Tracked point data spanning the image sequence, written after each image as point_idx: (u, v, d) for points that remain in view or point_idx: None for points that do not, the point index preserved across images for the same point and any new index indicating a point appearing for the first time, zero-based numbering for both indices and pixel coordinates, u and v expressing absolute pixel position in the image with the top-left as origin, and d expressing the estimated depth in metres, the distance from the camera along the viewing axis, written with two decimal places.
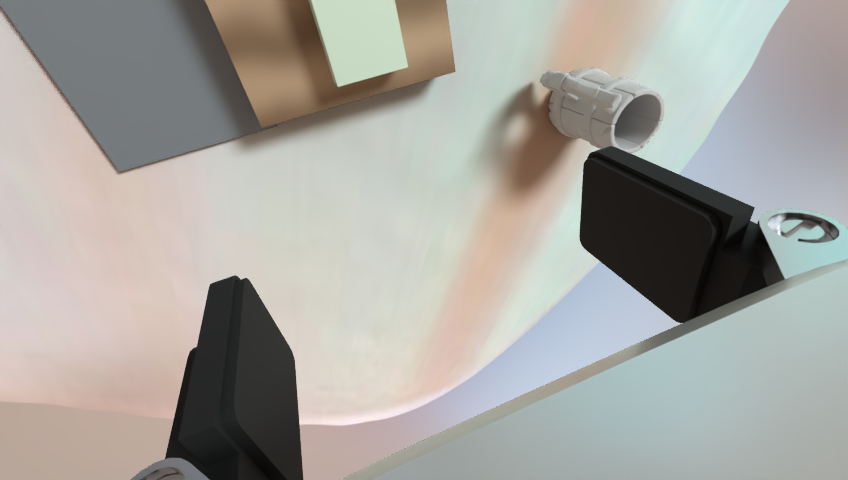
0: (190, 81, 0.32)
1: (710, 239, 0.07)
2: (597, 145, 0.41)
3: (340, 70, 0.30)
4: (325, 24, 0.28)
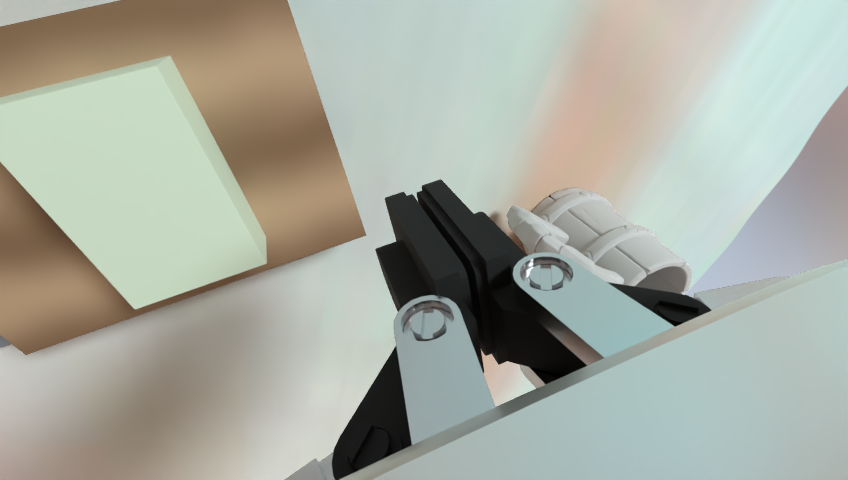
0: None
1: (476, 281, 0.08)
2: None
3: (132, 287, 0.17)
4: (78, 228, 0.15)
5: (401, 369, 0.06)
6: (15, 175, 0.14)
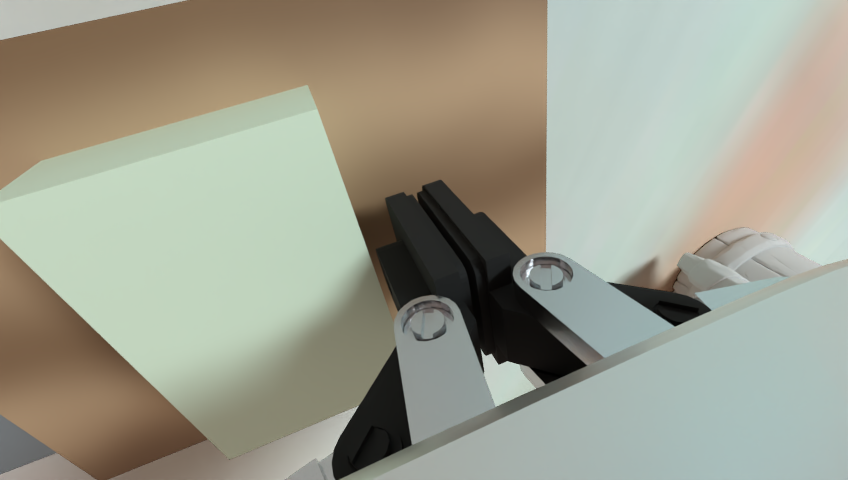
0: None
1: (476, 281, 0.08)
2: None
3: (230, 433, 0.11)
4: (161, 366, 0.09)
5: (401, 369, 0.06)
6: (68, 300, 0.08)
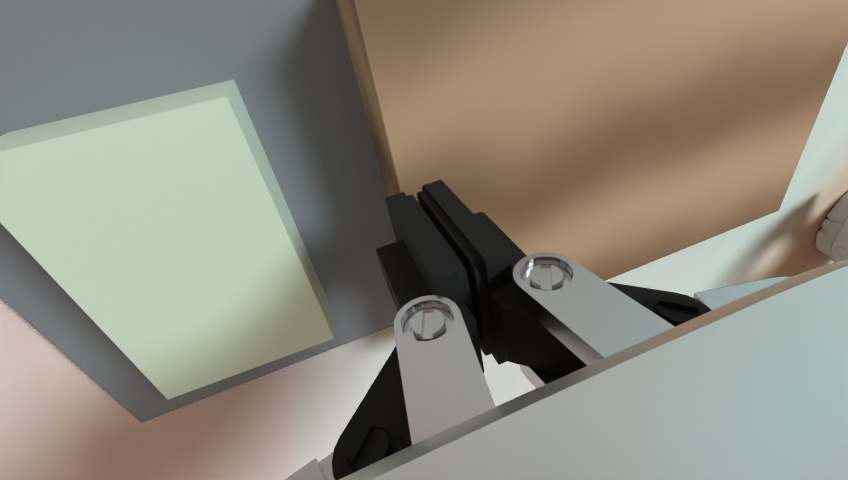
0: None
1: (476, 281, 0.08)
2: None
3: None
4: None
5: (401, 369, 0.06)
6: (260, 148, 0.13)
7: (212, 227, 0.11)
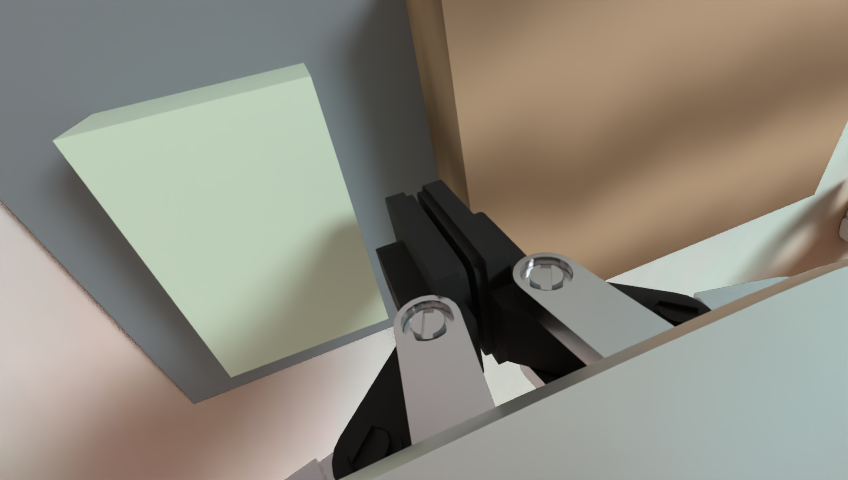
0: None
1: (476, 281, 0.08)
2: None
3: None
4: None
5: (401, 369, 0.06)
6: None
7: (286, 205, 0.11)
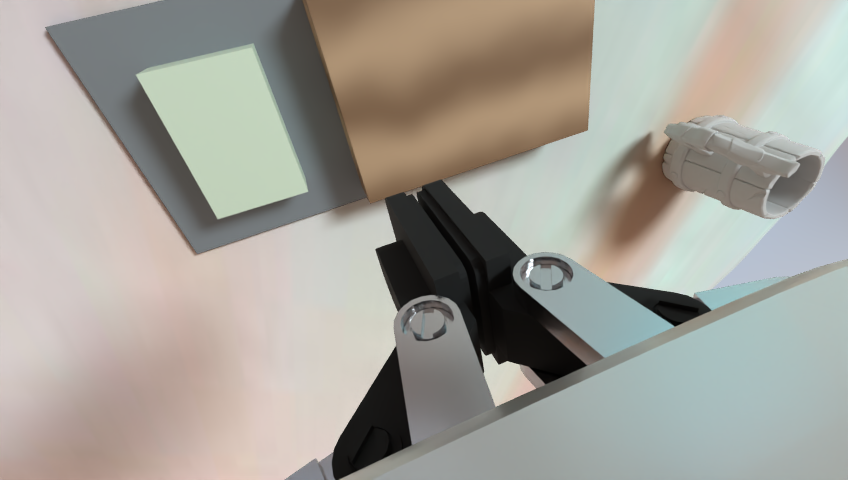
0: None
1: (476, 281, 0.08)
2: (732, 206, 0.36)
3: None
4: None
5: (401, 369, 0.06)
6: (266, 81, 0.24)
7: (243, 114, 0.23)
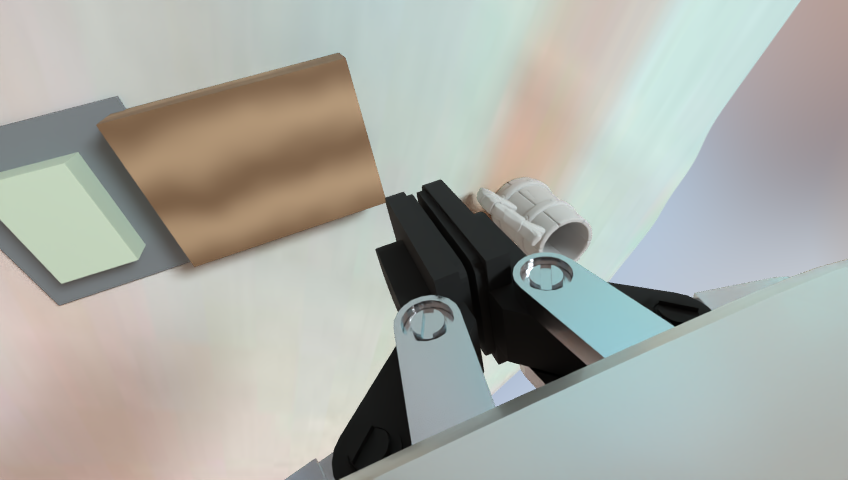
0: None
1: (476, 281, 0.08)
2: None
3: None
4: None
5: (401, 369, 0.06)
6: (95, 177, 0.31)
7: (67, 209, 0.29)
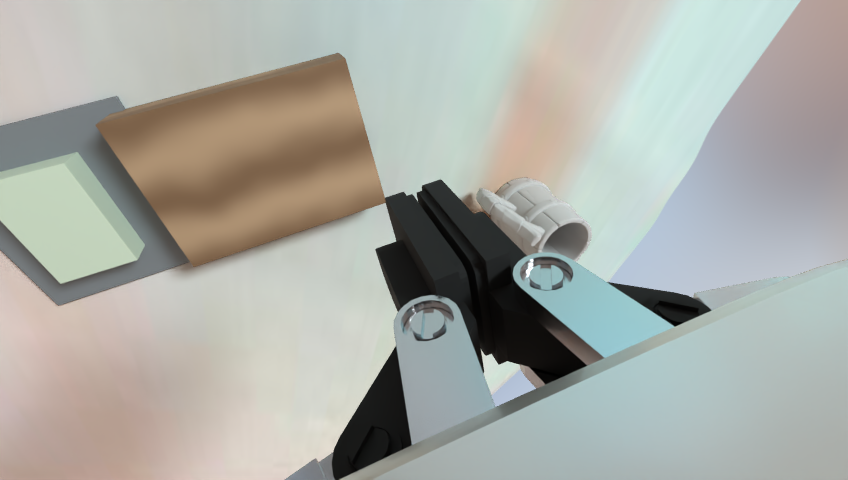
0: None
1: (476, 281, 0.08)
2: None
3: None
4: None
5: (401, 369, 0.06)
6: (94, 177, 0.31)
7: (67, 209, 0.29)
